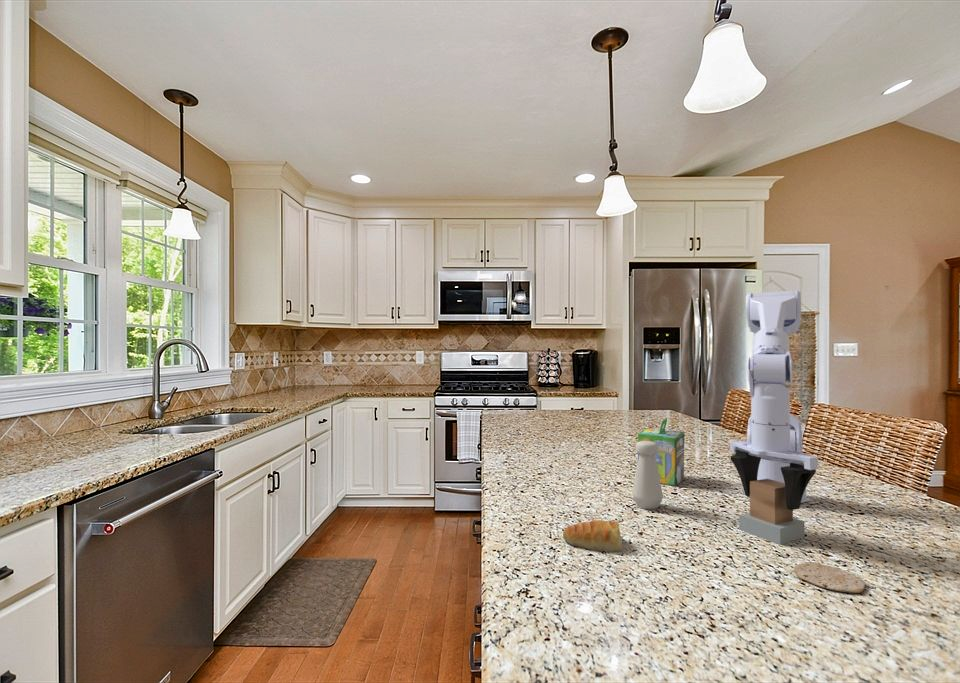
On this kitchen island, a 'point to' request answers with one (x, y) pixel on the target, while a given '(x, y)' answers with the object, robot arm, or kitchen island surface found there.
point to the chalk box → (667, 452)
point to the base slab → (772, 529)
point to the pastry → (594, 535)
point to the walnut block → (769, 501)
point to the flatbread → (829, 577)
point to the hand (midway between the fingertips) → (771, 501)
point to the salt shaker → (647, 477)
